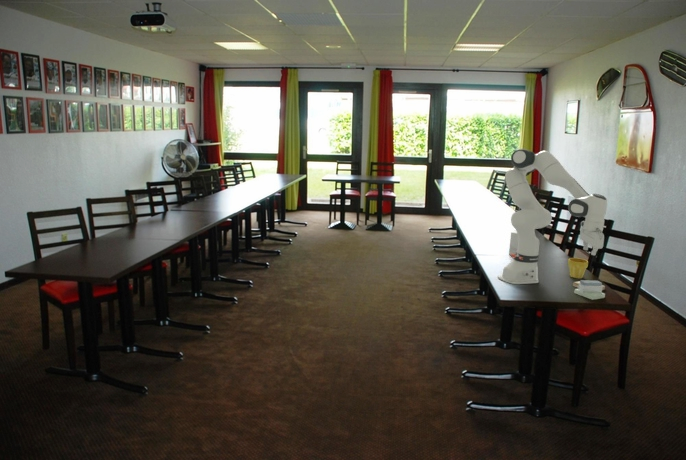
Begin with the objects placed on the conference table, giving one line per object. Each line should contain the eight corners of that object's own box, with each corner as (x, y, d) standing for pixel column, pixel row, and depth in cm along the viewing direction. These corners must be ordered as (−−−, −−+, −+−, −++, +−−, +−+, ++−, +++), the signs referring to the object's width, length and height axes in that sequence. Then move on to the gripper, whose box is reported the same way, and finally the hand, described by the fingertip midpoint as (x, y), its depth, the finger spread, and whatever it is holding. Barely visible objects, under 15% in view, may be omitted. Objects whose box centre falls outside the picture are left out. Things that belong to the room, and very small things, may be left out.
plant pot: (563, 276, 308) (565, 259, 306) (569, 273, 315) (572, 256, 313) (582, 280, 301) (584, 263, 299) (588, 277, 309) (590, 260, 307)
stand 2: (592, 299, 269) (593, 295, 268) (574, 293, 278) (574, 289, 278) (604, 297, 273) (605, 293, 273) (585, 291, 283) (586, 287, 282)
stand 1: (590, 292, 281) (591, 288, 281) (572, 285, 291) (573, 282, 290) (604, 289, 286) (605, 286, 286) (586, 283, 296) (587, 280, 295)
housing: (582, 292, 273) (584, 282, 272) (578, 289, 277) (579, 280, 276) (601, 293, 274) (603, 283, 273) (596, 290, 278) (598, 280, 277)
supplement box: (526, 254, 355) (528, 232, 352) (522, 257, 348) (525, 234, 344) (512, 252, 360) (514, 230, 357) (508, 254, 352) (510, 232, 349)
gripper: (609, 231, 265) (604, 258, 269) (591, 222, 285) (587, 247, 289) (596, 230, 265) (591, 257, 269) (579, 221, 285) (575, 246, 289)
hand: (589, 252), depth 279 cm, fingers open, 8 cm apart
